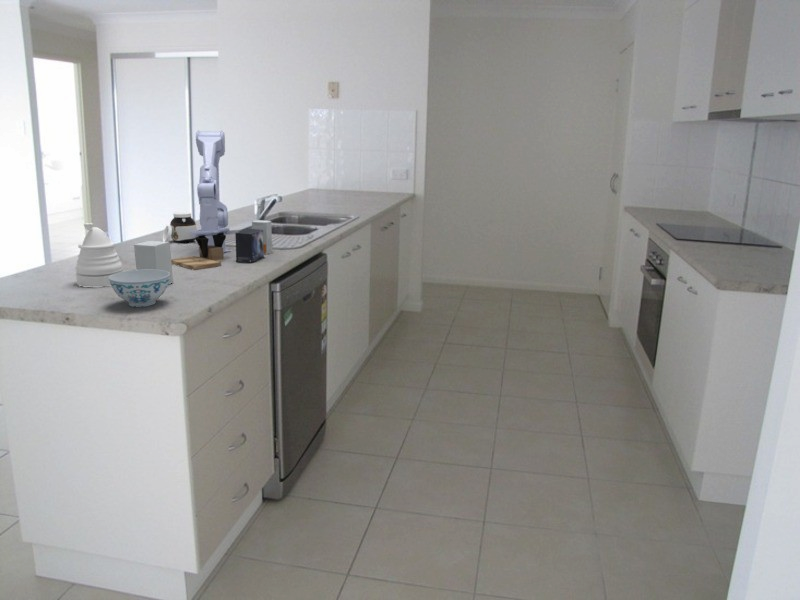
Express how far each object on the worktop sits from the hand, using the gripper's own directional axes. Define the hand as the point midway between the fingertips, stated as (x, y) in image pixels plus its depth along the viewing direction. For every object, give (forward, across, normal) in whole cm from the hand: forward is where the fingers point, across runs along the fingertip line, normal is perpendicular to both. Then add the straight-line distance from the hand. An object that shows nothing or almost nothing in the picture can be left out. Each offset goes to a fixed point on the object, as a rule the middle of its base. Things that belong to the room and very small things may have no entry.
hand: (211, 255), depth 233 cm
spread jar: (+2, +10, +40) cm, 41 cm away
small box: (+2, +10, -10) cm, 14 cm away
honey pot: (+2, -42, -7) cm, 43 cm away
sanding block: (+1, 0, 0) cm, 1 cm away
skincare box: (+2, +20, -2) cm, 21 cm away
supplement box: (+2, -32, -21) cm, 39 cm away
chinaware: (+2, -46, -38) cm, 59 cm away
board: (+1, -8, -3) cm, 9 cm away
